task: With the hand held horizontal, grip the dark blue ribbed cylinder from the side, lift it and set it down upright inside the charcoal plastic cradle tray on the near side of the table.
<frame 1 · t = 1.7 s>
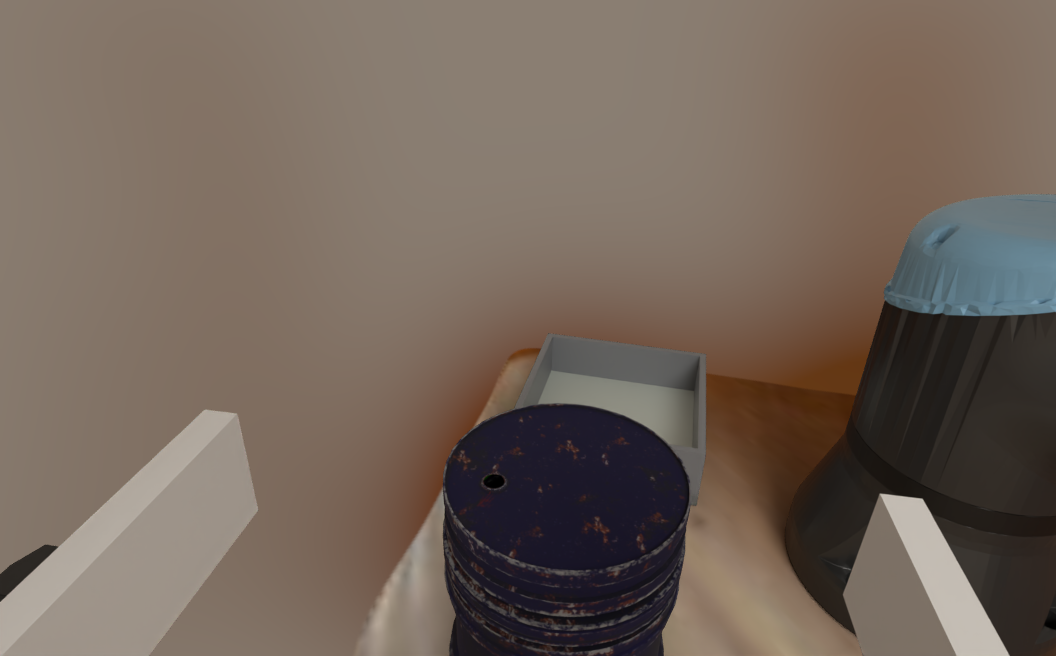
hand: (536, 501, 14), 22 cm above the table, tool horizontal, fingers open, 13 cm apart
cradle tray: (611, 432, 52), on the table
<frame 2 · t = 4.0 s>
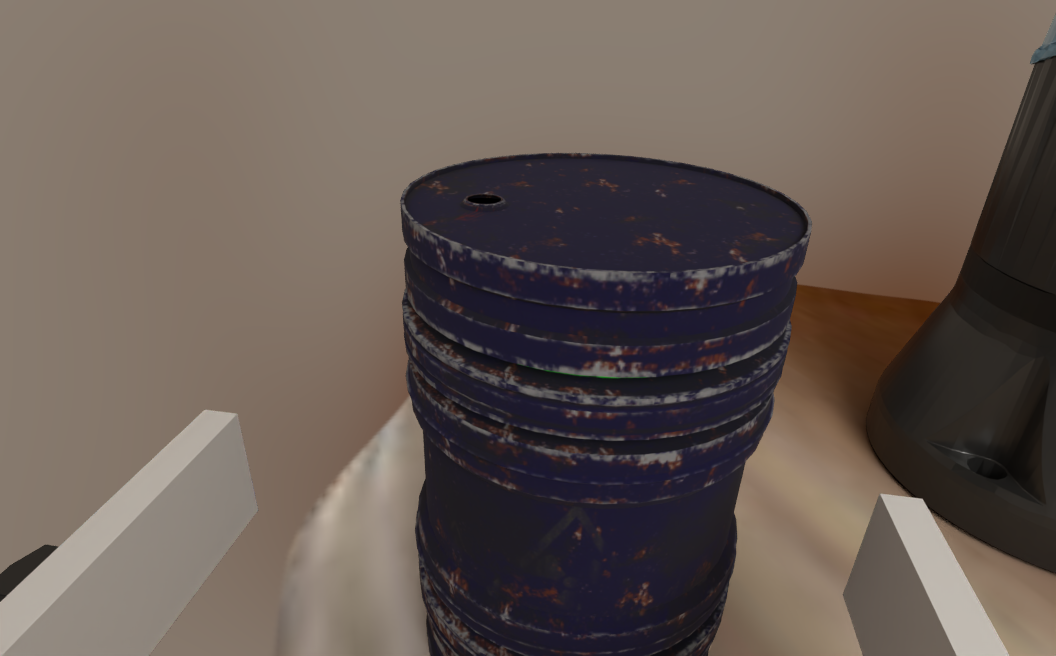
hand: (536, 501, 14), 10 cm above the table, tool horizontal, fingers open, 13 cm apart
dark blue ribbed cylinder: (565, 619, 23), on the table
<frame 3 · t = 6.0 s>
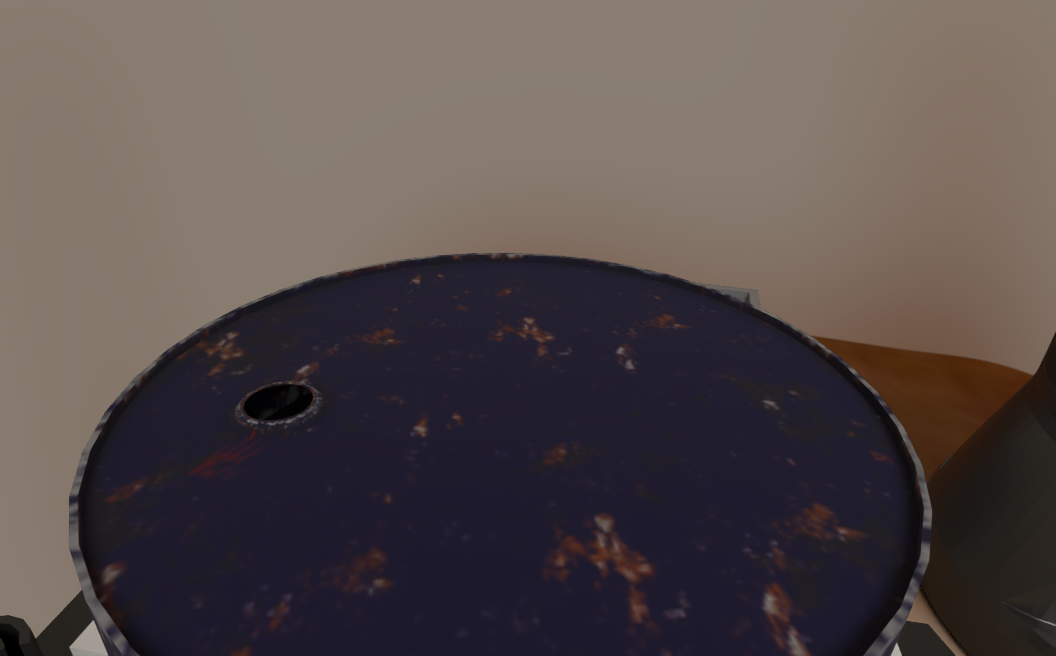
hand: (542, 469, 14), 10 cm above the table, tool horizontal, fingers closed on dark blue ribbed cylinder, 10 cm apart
cradle tray: (619, 399, 35), on the table
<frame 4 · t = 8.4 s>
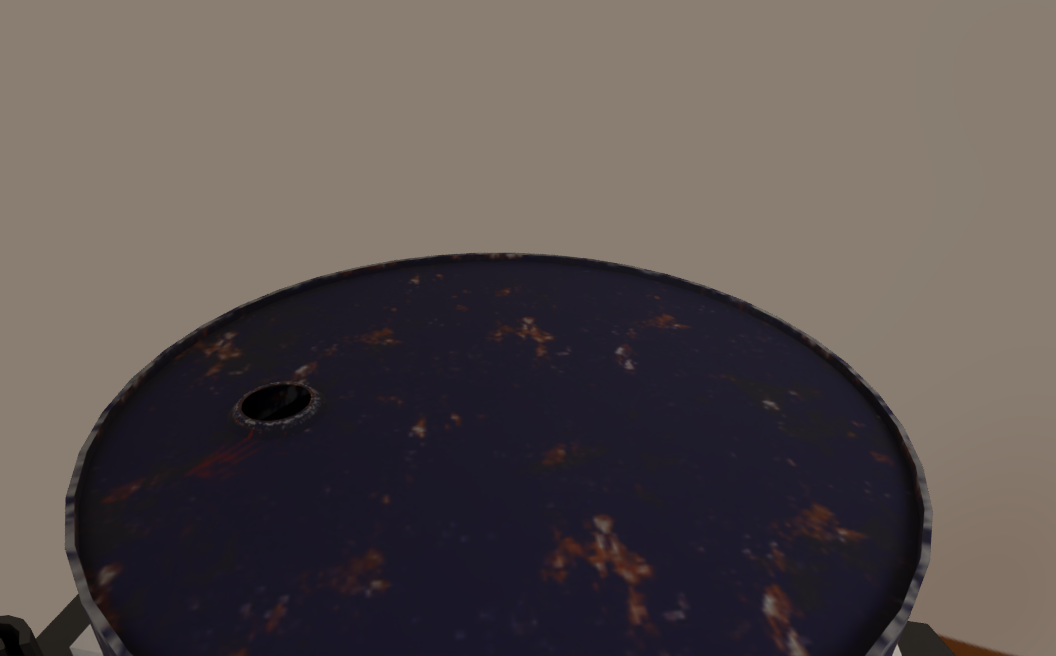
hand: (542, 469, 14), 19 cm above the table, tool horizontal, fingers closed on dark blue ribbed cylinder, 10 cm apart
when the fingers open (12 cm above the table, at t = 10.9 s): dark blue ribbed cylinder drops 1 cm, resting on cradle tray.
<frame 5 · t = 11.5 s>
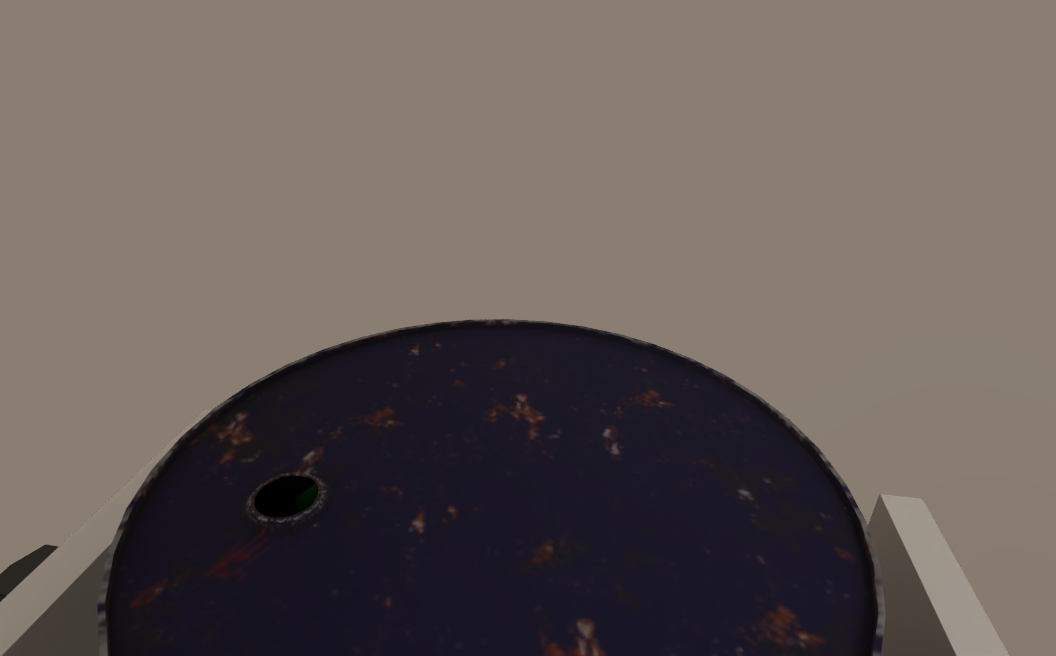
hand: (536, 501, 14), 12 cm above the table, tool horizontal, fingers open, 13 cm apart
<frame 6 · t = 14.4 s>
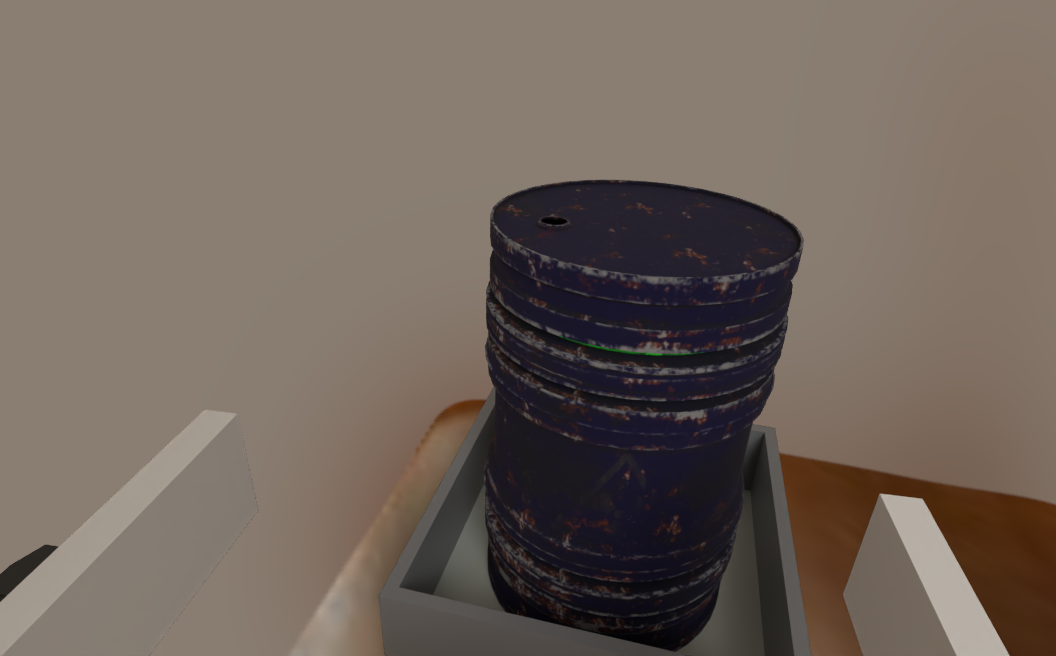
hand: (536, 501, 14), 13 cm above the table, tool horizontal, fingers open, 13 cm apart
cradle tray: (602, 577, 28), on the table
dark blue ribbed cylinder: (600, 563, 27), point 1 cm above the table, touching cradle tray
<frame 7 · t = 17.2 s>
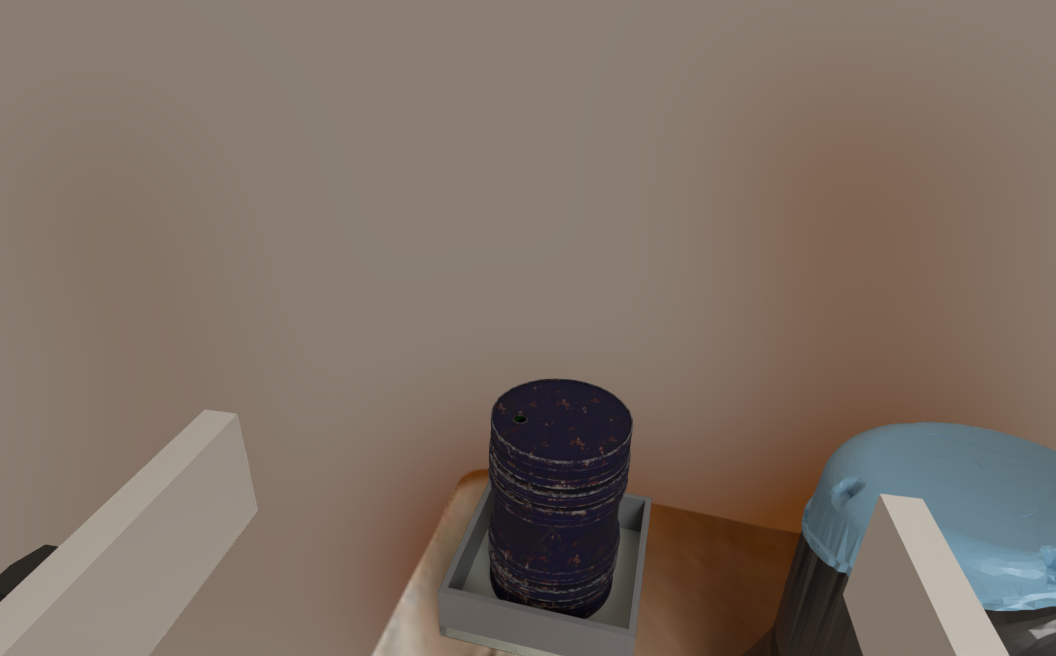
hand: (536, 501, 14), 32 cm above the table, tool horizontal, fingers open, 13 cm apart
cradle tray: (551, 582, 51), on the table
dark blue ribbed cylinder: (550, 574, 51), point 1 cm above the table, touching cradle tray
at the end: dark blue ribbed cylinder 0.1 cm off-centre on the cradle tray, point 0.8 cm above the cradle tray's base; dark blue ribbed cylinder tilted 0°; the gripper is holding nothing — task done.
